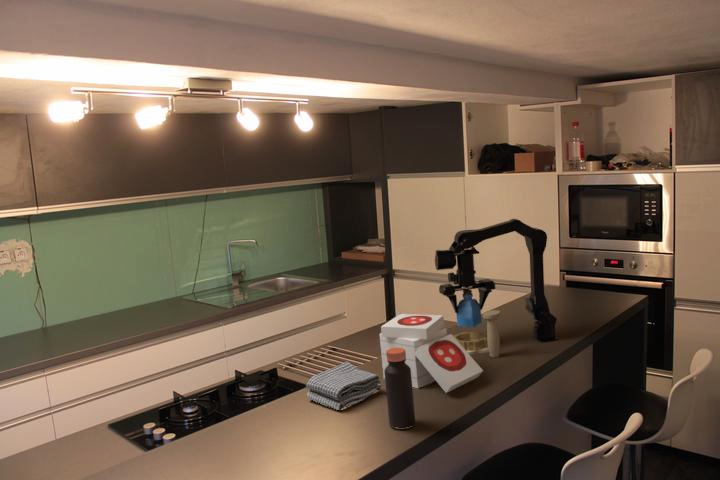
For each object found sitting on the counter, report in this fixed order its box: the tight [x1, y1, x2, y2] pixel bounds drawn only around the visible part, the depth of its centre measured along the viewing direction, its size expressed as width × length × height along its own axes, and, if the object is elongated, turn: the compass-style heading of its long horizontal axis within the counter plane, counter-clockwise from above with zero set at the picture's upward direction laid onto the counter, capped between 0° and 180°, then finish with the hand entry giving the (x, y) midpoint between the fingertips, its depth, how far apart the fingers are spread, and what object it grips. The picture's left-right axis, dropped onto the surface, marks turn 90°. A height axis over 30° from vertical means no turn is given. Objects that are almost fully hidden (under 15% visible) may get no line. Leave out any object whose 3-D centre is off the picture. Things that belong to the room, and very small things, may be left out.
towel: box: [305, 361, 382, 411], centre depth 179 cm, size 15×18×8 cm
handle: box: [482, 309, 501, 359], centre depth 200 cm, size 5×6×15 cm
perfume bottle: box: [456, 289, 482, 328], centre depth 211 cm, size 6×6×12 cm
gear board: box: [452, 331, 489, 356], centre depth 212 cm, size 14×14×4 cm
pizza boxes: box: [379, 313, 484, 394], centre depth 185 cm, size 19×30×18 cm, turn 41°
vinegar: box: [384, 348, 416, 428], centre depth 156 cm, size 7×7×20 cm
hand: (468, 311), depth 211 cm, fingers closed on perfume bottle, 9 cm apart
